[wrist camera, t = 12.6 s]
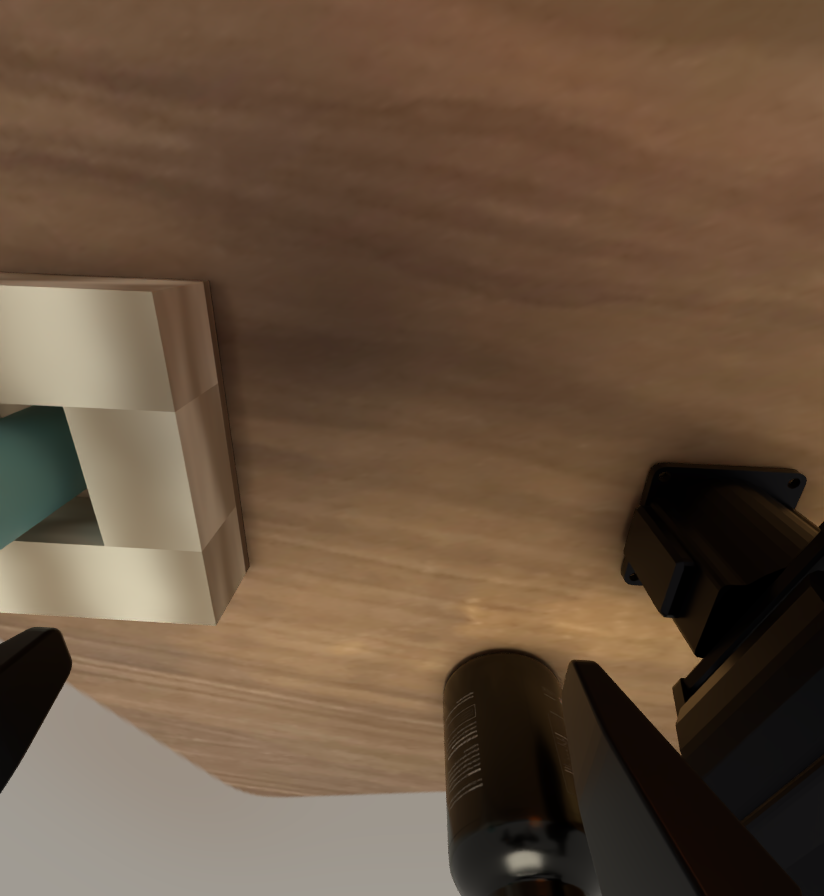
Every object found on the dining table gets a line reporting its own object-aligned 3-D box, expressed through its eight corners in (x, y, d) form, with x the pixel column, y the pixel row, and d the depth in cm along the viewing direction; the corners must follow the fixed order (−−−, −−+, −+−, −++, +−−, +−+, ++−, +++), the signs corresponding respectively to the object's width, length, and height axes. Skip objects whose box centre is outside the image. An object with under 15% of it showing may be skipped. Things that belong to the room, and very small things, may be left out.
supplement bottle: (473, 739, 29) (497, 1044, 18) (422, 669, 26) (414, 973, 16) (579, 708, 27) (675, 1023, 16) (534, 631, 25) (612, 939, 14)
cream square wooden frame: (208, 280, 18) (151, 291, 14) (249, 566, 24) (215, 625, 20) (-137, 266, 18) (-277, 273, 15) (-13, 551, 24) (-93, 606, 21)
